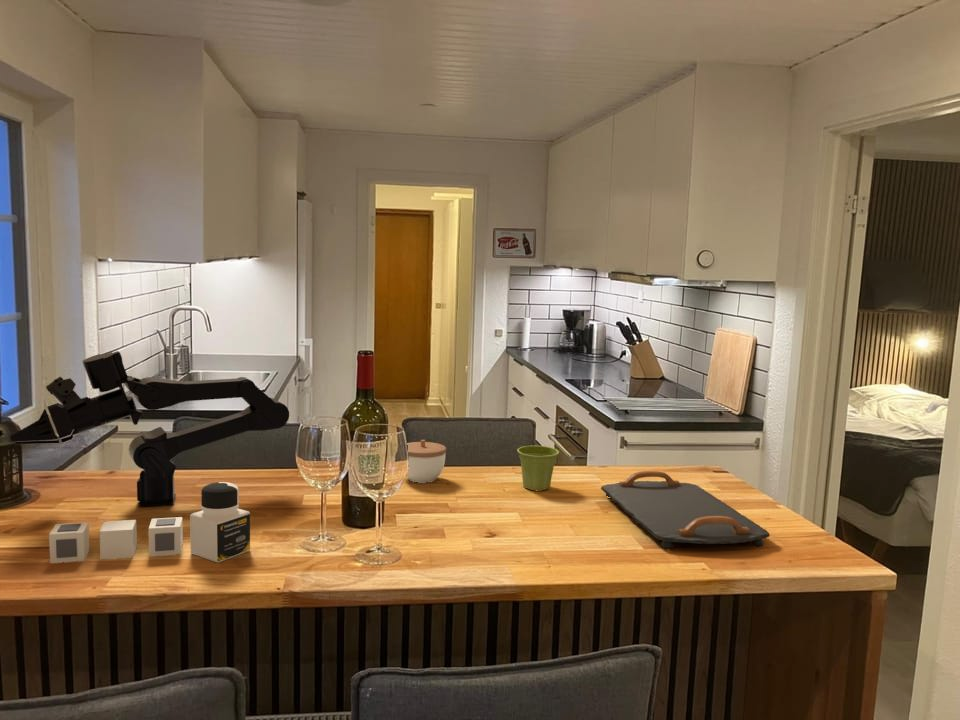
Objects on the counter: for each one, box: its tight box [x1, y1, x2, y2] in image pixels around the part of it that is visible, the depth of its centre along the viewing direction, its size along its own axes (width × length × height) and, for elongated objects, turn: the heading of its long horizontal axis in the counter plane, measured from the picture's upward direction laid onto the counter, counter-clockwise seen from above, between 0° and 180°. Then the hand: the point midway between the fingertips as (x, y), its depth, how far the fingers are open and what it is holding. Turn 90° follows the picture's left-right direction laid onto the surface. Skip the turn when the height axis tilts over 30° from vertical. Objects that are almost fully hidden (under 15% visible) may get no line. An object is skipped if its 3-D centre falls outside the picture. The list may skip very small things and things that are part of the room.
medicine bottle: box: [189, 481, 251, 564], centre depth 137 cm, size 7×7×12 cm
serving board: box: [600, 470, 771, 551], centre depth 164 cm, size 39×23×6 cm, turn 10°
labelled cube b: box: [48, 521, 90, 564], centre depth 133 cm, size 5×5×5 cm
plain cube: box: [99, 519, 138, 561], centre depth 136 cm, size 5×5×5 cm
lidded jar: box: [406, 439, 447, 484], centre depth 185 cm, size 11×11×9 cm
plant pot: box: [516, 445, 560, 491], centre depth 182 cm, size 9×9×9 cm
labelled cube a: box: [148, 516, 184, 557], centre depth 138 cm, size 5×5×5 cm
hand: (12, 440), depth 148 cm, fingers open, 9 cm apart
